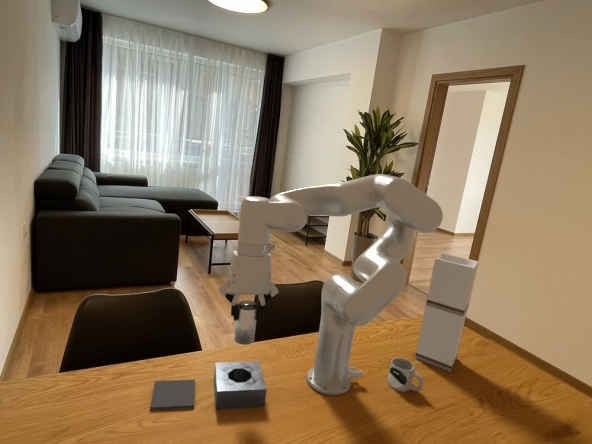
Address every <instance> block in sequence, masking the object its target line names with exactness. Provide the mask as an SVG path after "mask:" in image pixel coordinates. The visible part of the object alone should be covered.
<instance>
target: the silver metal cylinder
mask: <svg viewBox="0 0 592 444" xmlns="http://www.w3.org/2000/svg"><path fill="white" fill-rule="evenodd" d="M256 303H257V302H255V301H253V300H247V299H246V300H245V299H244V300H241V301H239V303H238V316H237V320H236V321H235V326H234V338H233V341H234V342H235V343H236V344H238V345H244V346H245V345H246V346H247V345H251V344H252V343H254V341H255V335H256V327H257V320H256V317H257V308H258V307H257V304H256Z"/></svg>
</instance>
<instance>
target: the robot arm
mask: <svg viewBox="0 0 592 444" xmlns="http://www.w3.org/2000/svg"><path fill="white" fill-rule="evenodd" d="M375 208H381V209H384V210H387V211H388V212H387V213H388V214H387V215H388V219H387V225H386V228H385V230H384V232H383V233H382V234H381V235H380V236H379V237H378V239H376V240H375V241H374V242H373V243H372V244H371V245H369V247H367V248H366V249H365V250H364V251H362V253H361V254H360V255H359V256H358V257H357V258H356V260H355V261H354V263H353V266H352V267H353V273H354V274H355V275H356V277H357V278H358V279H359V280H360V281H361V282H362V284H360V283H359V282H357V281H356V280H354V279H353V278H352V277H350V276H349V275H346V274H343V273H335V274H332V275H330V276H329V277H327V279H326V280H325V281H324V284H323V285H322V289H321V315H320V323H319V330H318V334H317V335H318V337H317V342H316V343H317V344H316V350H315V356H314V362H313V367H311V368H310V369H309V370H308V371H307V374H306V381H307V383H308V385H309V386H310V387H311V388H313V389H314V390H315V391H316V392H319V393H321V394H325V395H328V396H339V395H344V394H345V393H348V391H350V389H351V386H352V379H353V378H363V377H364V372H363V370H361V369H360V370H356V367H355V366H349V363H350V357H351V351H352V346H353V341H354V340H353V339H354V335H355V327H362V326H364V325H366V324H368V323H370V322H371V321H372V320H373V319H375V318H376V317H377V316H379V314H380V313H381V312H382V311H383V310H384V309H385V308H387V307H388V306H389V305H390V304H391V303H392V302H393V301H394V300H395V299H397V297H398V296H399V295H400V294H401V292H402V291H403V290H404V287H405V286H406V283H407V271H406V268H405V267H404V265H403V264H402V263H400V262H401V261H403V259H404V258H405V257H406V256H407V255H408V254H409V251H410V250H411V248H412V245H413V239H414V230H415V231H416V232H420V233H424V234H425V233H426V234H427V233H429V234H430V233H431V232H434V231H436V230H437V229H438V228H439V227H440V226H441V224H442V222H443V219H444V218H443V217H444V214H443V210H442V208H441V206H440V204H439V203H438V202H437V201H436V200H434V199H432V198H431V197H430V196H429V195H427V194H426V193H425V192H423V191H422V190H420V189H419V188H418V187H416V186H415V184H413V183H410V182H409V181H408V180H406V179H404V178H402V177H399V176H394V175H391V174H384V173H377V174H371V175H367V176H366V175H365V176H363V177H360V178H355V179H351V180H347V181H343V182H337V183H332V184H324V185H317V186H309V187H308V186H307V187H303V188H298V189H293V190H289V191H285V192H280V193H277V194H275V195H273V196H272V197H270V198H267V197H262V196H253V195H252V196H245V197H244V198H243V199H242V200H241V204H240V215H239V226H238V235H237V246H236V247H237V248H236V250H234V251H233V253H232V257H231V260H230V266H229V271H228V278H227V279H226V280H225V281H223V283H222V284H221V285H220V286H219V288H218V292H219V294H221V295H222V296H223V297H224V298H226V299H227V301H228V302H229V303H230V304H231V306H230V308H231V309H230V316H231V317H233V321H234V322H236V320H237V316H238V304H239V303H238V300H239V298H240V296H241V295H242V296H243V295H246V296H249V295H250V296H252V295H253V296H257V297H258V300H257V301H256V302H255V303H256V304H257V307H258V308H257V317H256V322H257V321H258V322H259V321H260V319H261V317H263V312H264V306H265V305H266V303H267V302H269V301H270V300H271V299H272V298H274V296H276V295H278V294H279V289H278V288H277V286H276V285H275V284H274V282H273V281H272V256H271V253H270V252H271V251H275V250H276V245H275V244H272V243H270V240H271V232H272V231H271V230H276V231H281V232H286V233H295V232H298V231H300V230H302V229H303V228H304V227H305V226H306V224H307V221H308V216H312V215H313V216H314V215H321V216H322V215H323V216H328V217H346V216H347V217H348V216H350V215H354V214H357V213H361V212H365V211H368V210H372V209H375ZM227 289H229V290H227Z"/></svg>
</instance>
